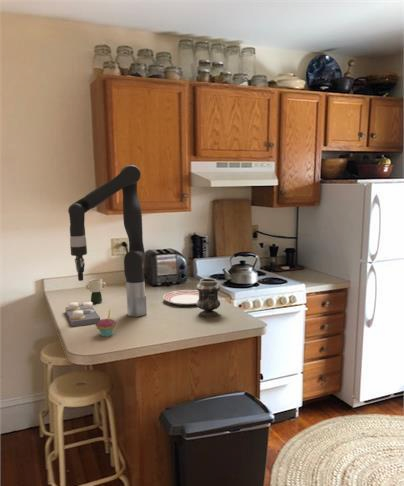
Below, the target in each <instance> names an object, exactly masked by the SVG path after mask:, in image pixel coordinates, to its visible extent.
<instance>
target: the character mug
mask: <svg viewBox="0 0 404 486" xmlns="http://www.w3.org/2000/svg"><path fill="white" fill-rule="evenodd" d="M106 284H107V283H106V282H103V279H102V278H92V279H89V280H88V283H86V284H85V290H87V291H88V290H89V292H91V296H90V302H92V303H94V304H96V303H97V304H98V303H101V302H102V301H103V297H102V291H103V289H105V288H107V286H106ZM88 286H89V287H88Z"/></svg>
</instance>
